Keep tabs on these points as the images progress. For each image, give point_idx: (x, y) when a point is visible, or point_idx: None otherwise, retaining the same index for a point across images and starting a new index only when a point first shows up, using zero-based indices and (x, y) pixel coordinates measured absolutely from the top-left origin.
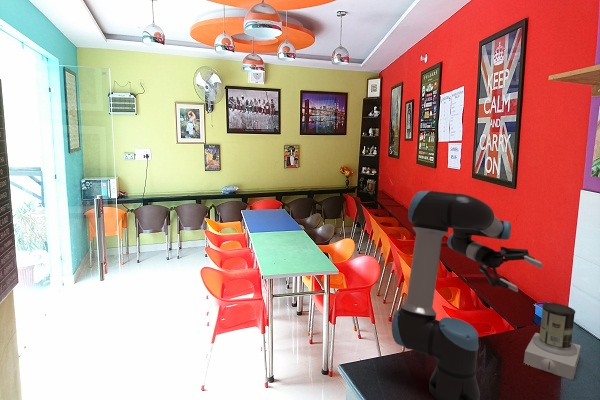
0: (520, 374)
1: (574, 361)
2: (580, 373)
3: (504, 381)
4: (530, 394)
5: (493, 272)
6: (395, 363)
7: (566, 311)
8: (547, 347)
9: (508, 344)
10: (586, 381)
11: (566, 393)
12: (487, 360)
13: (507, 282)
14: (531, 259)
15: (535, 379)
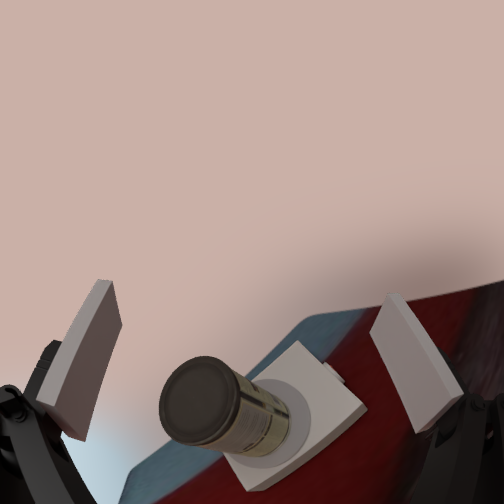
0: None
1: (278, 360)
2: None
3: (452, 330)
4: (421, 298)
5: (472, 491)
6: None
7: (194, 374)
8: (295, 407)
9: (334, 498)
10: (285, 350)
11: (353, 311)
12: None
13: (426, 342)
14: (78, 337)
15: None
